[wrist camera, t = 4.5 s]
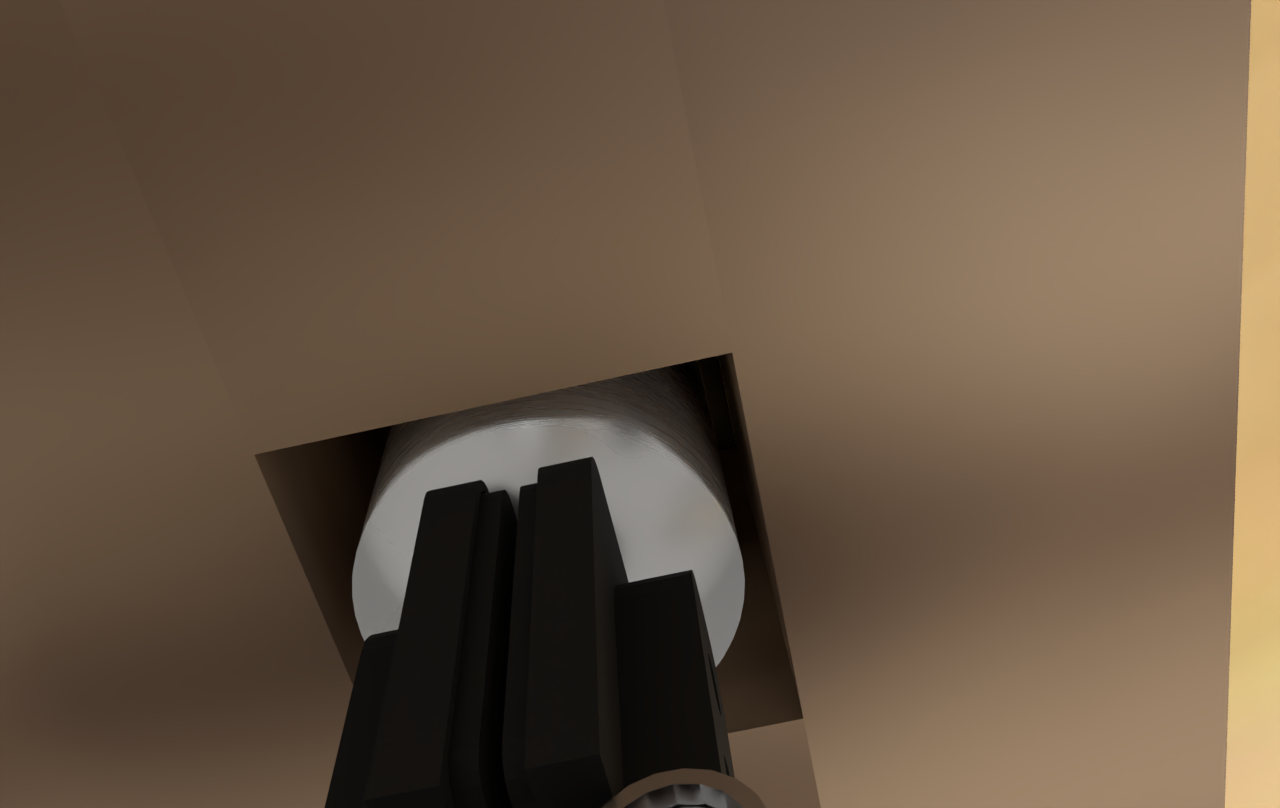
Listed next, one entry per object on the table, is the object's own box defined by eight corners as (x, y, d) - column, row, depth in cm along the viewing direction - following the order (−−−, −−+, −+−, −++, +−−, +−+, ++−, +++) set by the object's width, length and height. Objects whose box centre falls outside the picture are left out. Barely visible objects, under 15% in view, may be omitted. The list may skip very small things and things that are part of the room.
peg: (377, 264, 16) (295, 475, 11) (664, 200, 16) (706, 387, 11) (459, 504, 18) (419, 774, 13) (717, 451, 18) (772, 704, 13)
